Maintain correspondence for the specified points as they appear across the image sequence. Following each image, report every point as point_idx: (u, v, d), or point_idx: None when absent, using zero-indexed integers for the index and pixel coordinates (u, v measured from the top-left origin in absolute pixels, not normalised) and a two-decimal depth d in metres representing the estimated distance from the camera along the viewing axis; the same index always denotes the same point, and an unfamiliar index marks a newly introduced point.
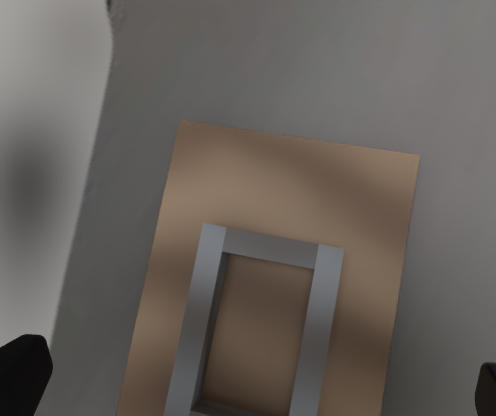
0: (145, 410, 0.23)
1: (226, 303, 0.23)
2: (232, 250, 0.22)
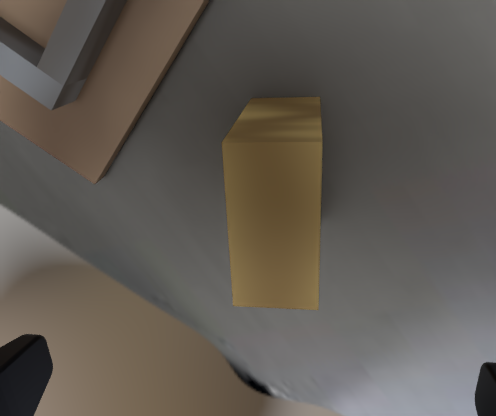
0: (61, 128, 0.20)
1: None
2: None
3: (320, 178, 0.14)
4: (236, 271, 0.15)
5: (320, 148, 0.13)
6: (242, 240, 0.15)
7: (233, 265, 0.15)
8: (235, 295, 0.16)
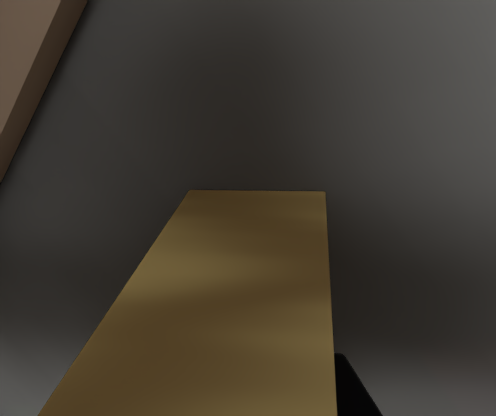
0: None
1: None
2: None
3: None
4: None
5: None
6: None
7: None
8: None
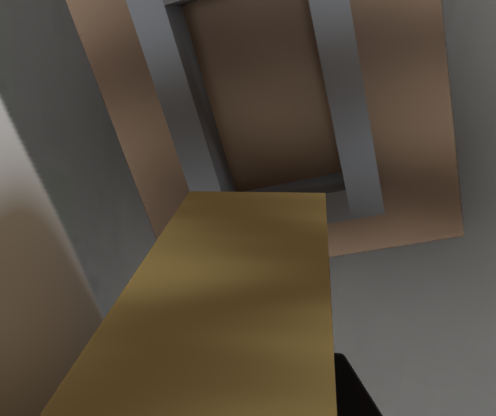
0: None
1: (211, 74, 0.17)
2: None
3: None
4: None
5: None
6: None
7: None
8: None
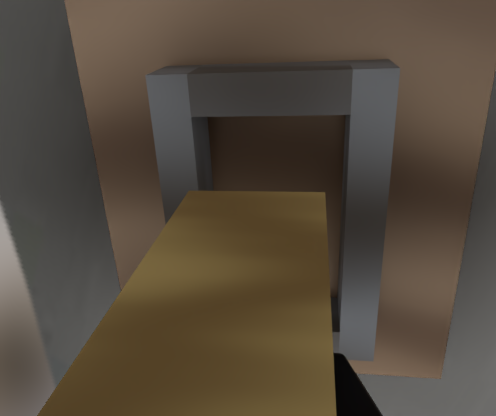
0: None
1: (222, 176, 0.16)
2: (207, 111, 0.13)
3: None
4: None
5: None
6: None
7: None
8: None
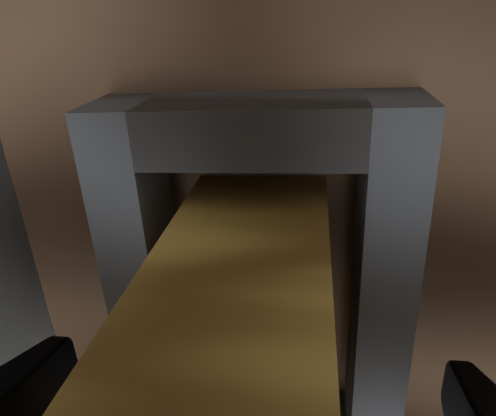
0: None
1: None
2: (157, 165, 0.09)
3: None
4: None
5: None
6: None
7: None
8: None
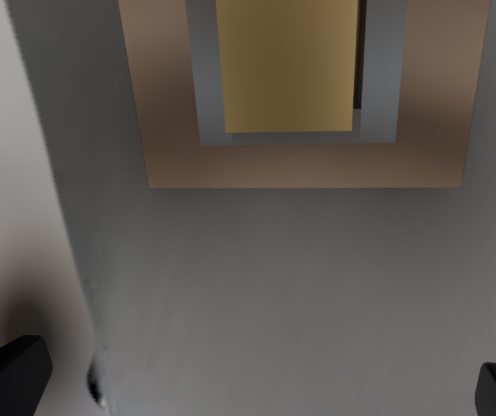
0: (175, 132, 0.18)
1: None
2: None
3: None
4: (229, 70, 0.10)
5: None
6: (237, 12, 0.10)
7: (224, 60, 0.10)
8: (228, 114, 0.11)
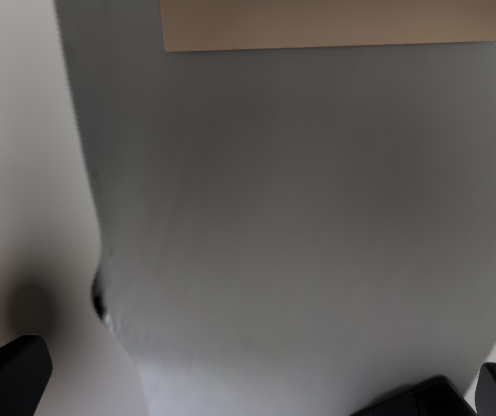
0: None
1: None
2: None
3: None
4: None
5: None
6: None
7: None
8: None
